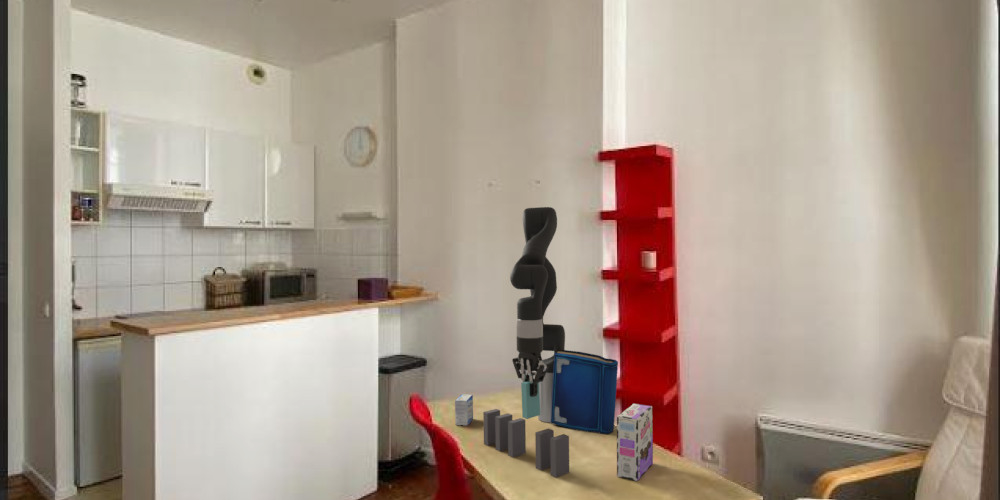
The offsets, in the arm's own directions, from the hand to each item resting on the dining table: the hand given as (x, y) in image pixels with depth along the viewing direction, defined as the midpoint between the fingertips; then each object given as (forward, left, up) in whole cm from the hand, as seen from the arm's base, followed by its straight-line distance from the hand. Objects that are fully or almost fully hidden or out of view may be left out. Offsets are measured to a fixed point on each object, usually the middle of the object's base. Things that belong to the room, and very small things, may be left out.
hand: (530, 395), depth 160 cm
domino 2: (+5, -11, -19) cm, 22 cm away
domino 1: (+7, -17, -19) cm, 26 cm away
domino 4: (0, 0, -6) cm, 6 cm away
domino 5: (-2, +6, -19) cm, 20 cm away
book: (-26, -22, -19) cm, 39 cm away
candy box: (-25, +15, -19) cm, 35 cm away
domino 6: (-5, +11, -19) cm, 22 cm away
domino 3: (+2, -6, -19) cm, 20 cm away
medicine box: (+11, -39, -19) cm, 45 cm away
